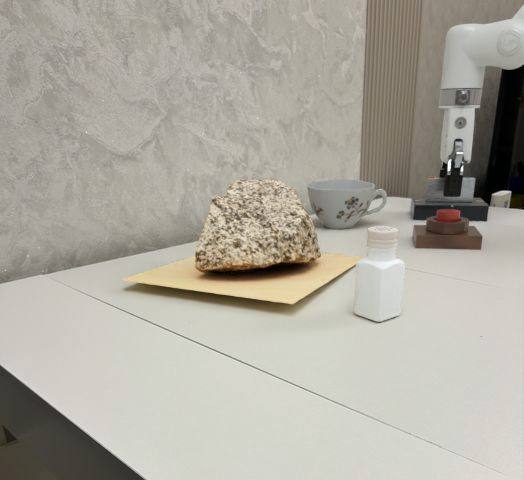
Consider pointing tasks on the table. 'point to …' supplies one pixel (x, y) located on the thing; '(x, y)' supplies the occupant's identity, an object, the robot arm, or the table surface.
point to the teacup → (343, 201)
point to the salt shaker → (379, 276)
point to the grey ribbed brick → (437, 187)
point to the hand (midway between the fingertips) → (448, 192)
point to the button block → (447, 235)
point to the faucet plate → (469, 210)
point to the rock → (254, 248)
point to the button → (448, 215)
